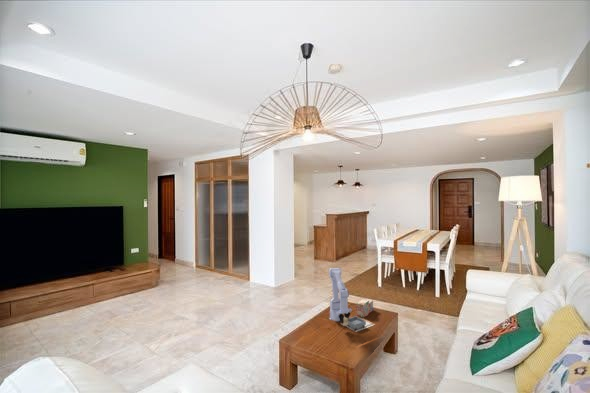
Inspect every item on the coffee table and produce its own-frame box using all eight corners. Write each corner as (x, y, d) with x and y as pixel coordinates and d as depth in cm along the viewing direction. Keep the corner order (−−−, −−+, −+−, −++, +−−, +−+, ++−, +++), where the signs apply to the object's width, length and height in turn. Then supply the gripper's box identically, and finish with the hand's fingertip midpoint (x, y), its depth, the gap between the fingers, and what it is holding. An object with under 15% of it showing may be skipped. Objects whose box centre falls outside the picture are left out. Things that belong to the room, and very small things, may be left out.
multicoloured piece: (366, 308, 264) (366, 295, 264) (373, 310, 261) (373, 297, 260) (356, 316, 247) (356, 302, 247) (363, 318, 244) (363, 304, 243)
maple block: (340, 324, 221) (340, 317, 221) (344, 322, 224) (344, 316, 223) (344, 326, 218) (343, 319, 218) (347, 324, 220) (347, 318, 220)
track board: (344, 326, 230) (344, 325, 230) (363, 319, 241) (363, 318, 241) (355, 333, 219) (355, 331, 219) (375, 325, 230) (375, 324, 230)
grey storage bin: (345, 325, 229) (345, 319, 229) (355, 321, 235) (355, 316, 235) (354, 330, 219) (354, 325, 219) (365, 326, 226) (365, 321, 226)
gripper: (340, 309, 213) (340, 326, 214) (354, 304, 221) (354, 321, 221) (334, 305, 219) (334, 323, 220) (348, 301, 227) (348, 318, 227)
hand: (344, 322), depth 221 cm, fingers closed on maple block, 4 cm apart
